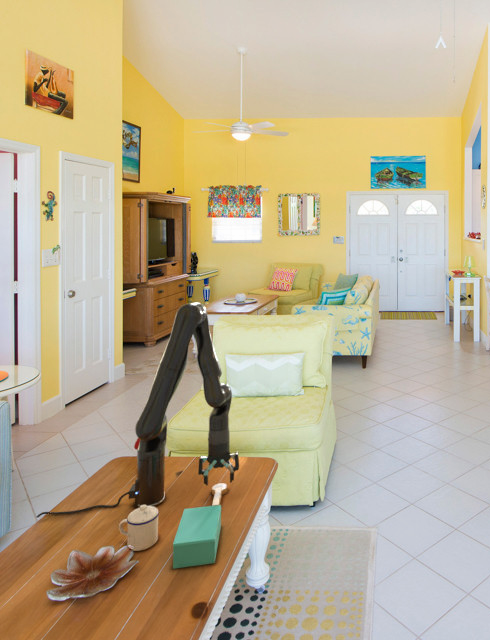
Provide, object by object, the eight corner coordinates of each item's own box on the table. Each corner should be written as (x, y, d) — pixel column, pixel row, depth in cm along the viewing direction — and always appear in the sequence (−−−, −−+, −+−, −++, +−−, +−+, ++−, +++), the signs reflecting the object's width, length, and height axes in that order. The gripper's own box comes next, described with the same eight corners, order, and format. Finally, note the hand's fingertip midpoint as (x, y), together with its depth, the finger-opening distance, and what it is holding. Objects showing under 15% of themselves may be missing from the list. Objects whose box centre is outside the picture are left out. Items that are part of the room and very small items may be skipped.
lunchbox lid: (214, 541, 138) (214, 538, 138) (172, 546, 135) (172, 544, 135) (221, 507, 156) (221, 504, 156) (184, 511, 153) (184, 508, 153)
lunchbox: (214, 563, 138) (214, 540, 138) (172, 568, 136) (173, 545, 136) (220, 527, 156) (221, 507, 156) (184, 531, 153) (184, 511, 153)
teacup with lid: (163, 533, 152) (163, 498, 152) (150, 552, 143) (150, 514, 143) (126, 533, 152) (127, 497, 152) (111, 552, 143) (111, 514, 143)
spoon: (223, 512, 164) (223, 504, 164) (207, 514, 163) (207, 506, 163) (227, 487, 181) (227, 480, 181) (212, 489, 179) (213, 481, 179)
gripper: (239, 433, 177) (239, 475, 177) (200, 437, 174) (200, 480, 174) (238, 441, 170) (238, 485, 170) (197, 445, 167) (197, 490, 167)
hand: (219, 483), depth 172 cm, fingers open, 8 cm apart
